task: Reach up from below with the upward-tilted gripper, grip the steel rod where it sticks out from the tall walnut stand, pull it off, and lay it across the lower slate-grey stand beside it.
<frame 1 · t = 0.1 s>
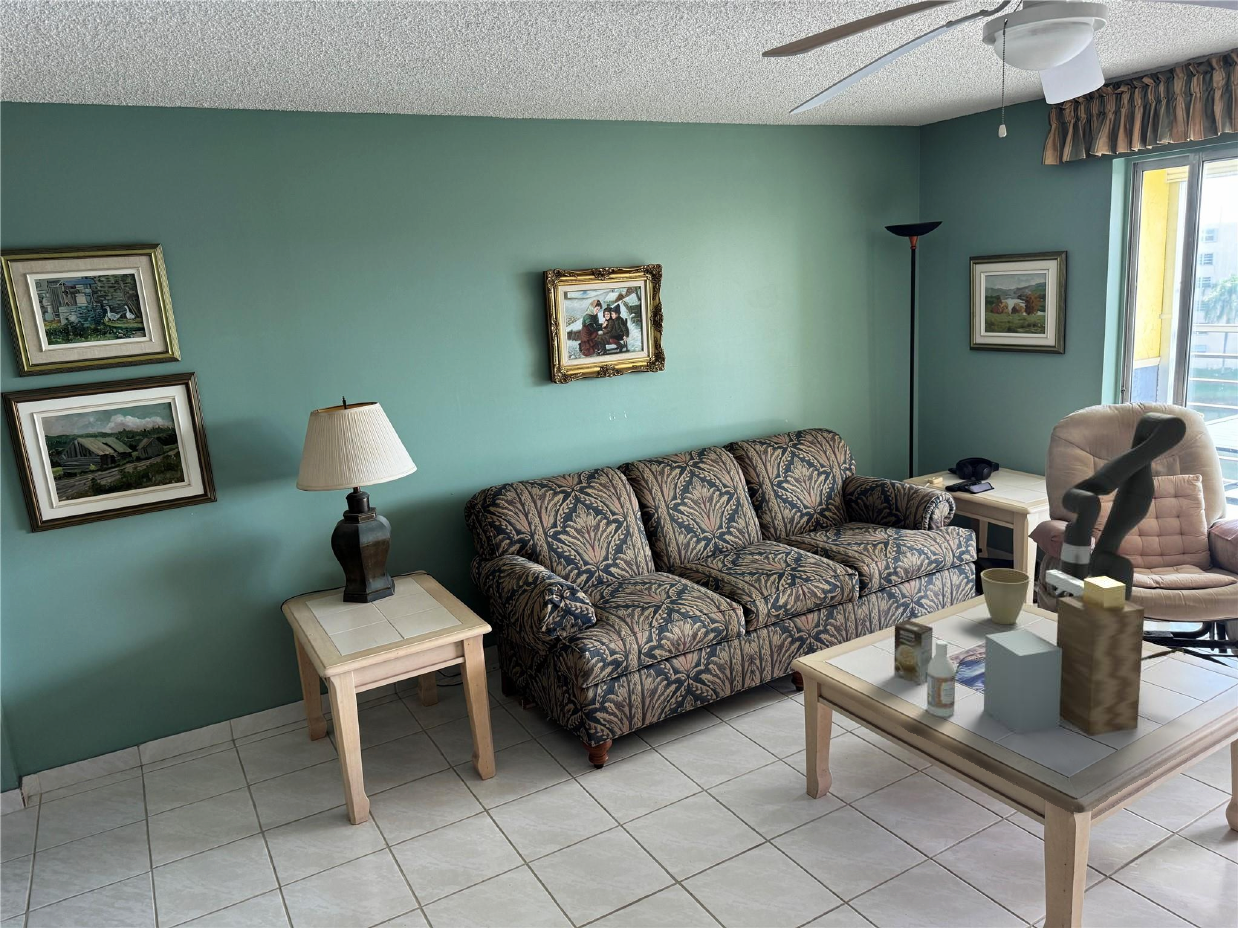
hand: (1070, 612, 254), 17 cm above the table, tool pointing down, fingers open, 8 cm apart
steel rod: (1080, 594, 228), point 32 cm above the table, touching tall stand
coffee pot: (1135, 695, 239), on the table
coffee box: (912, 677, 258), on the table
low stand: (1020, 718, 231), on the table
plant pot: (1003, 621, 295), on the table
bath foam: (940, 712, 237), on the table
tall stand: (1094, 719, 228), on the table
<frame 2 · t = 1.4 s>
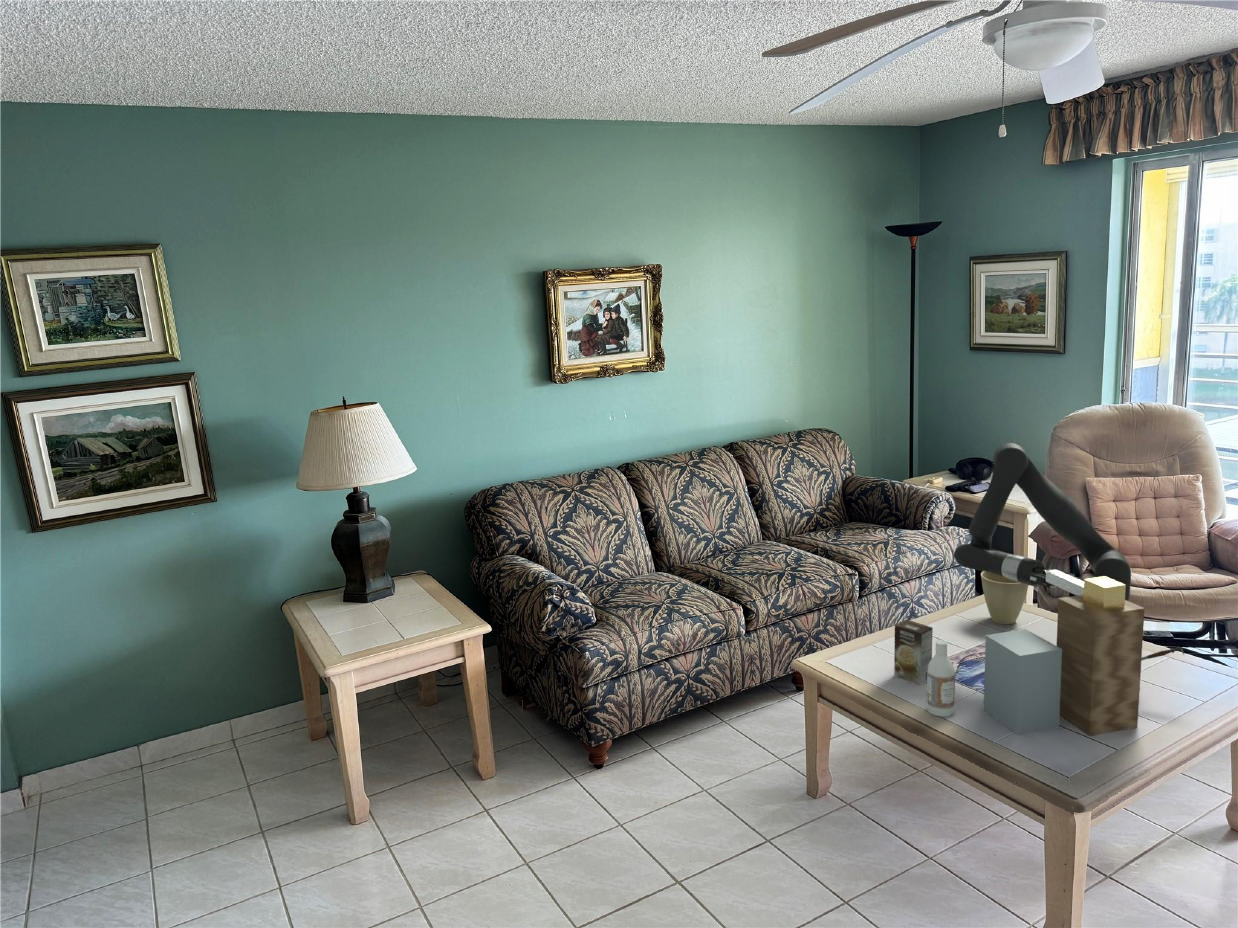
hand: (1078, 585, 242), 29 cm above the table, tool horizontal, fingers open, 8 cm apart
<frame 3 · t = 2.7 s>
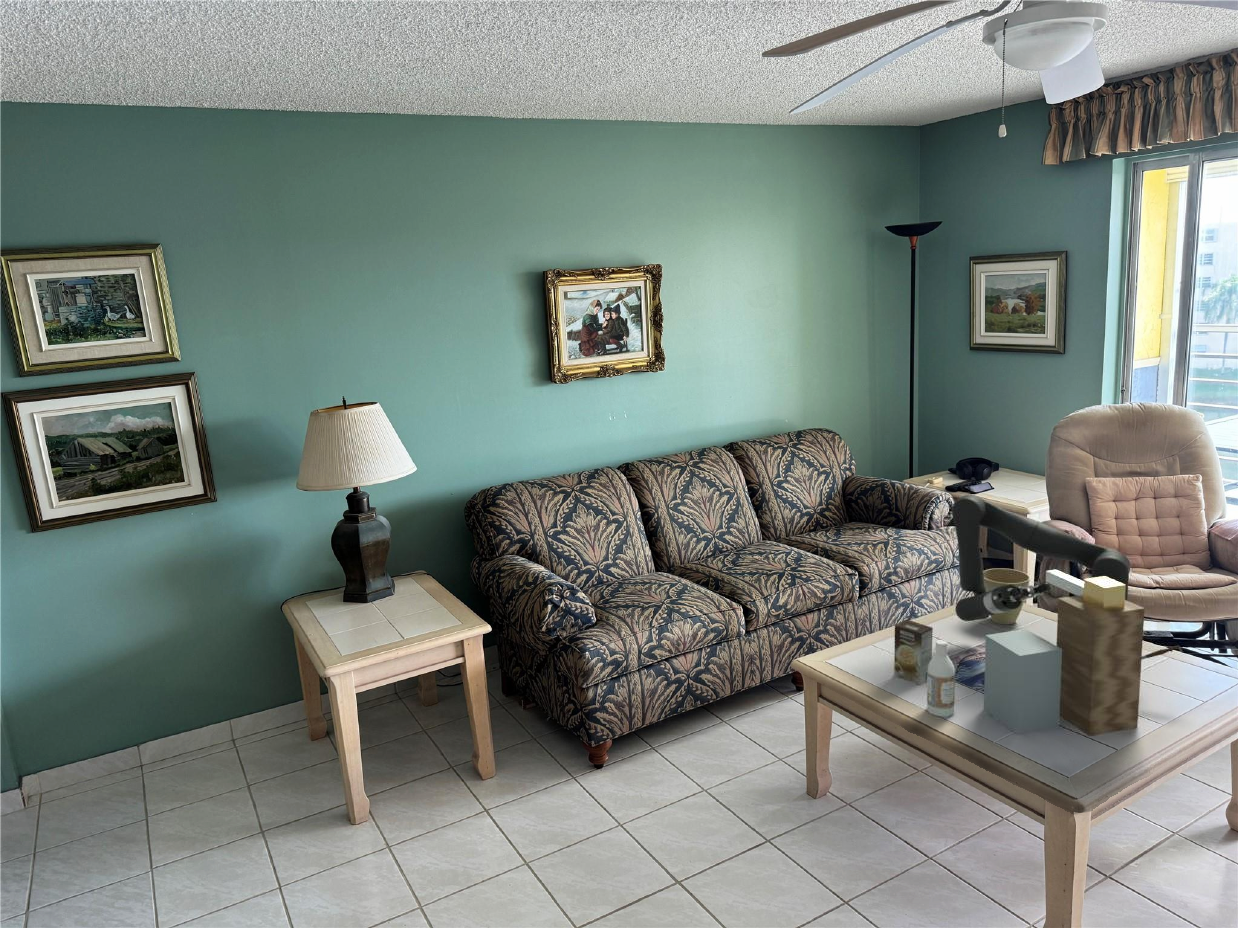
hand: (1034, 588, 246), 28 cm above the table, tool pointing upward, fingers open, 8 cm apart
nothing on the table moved.
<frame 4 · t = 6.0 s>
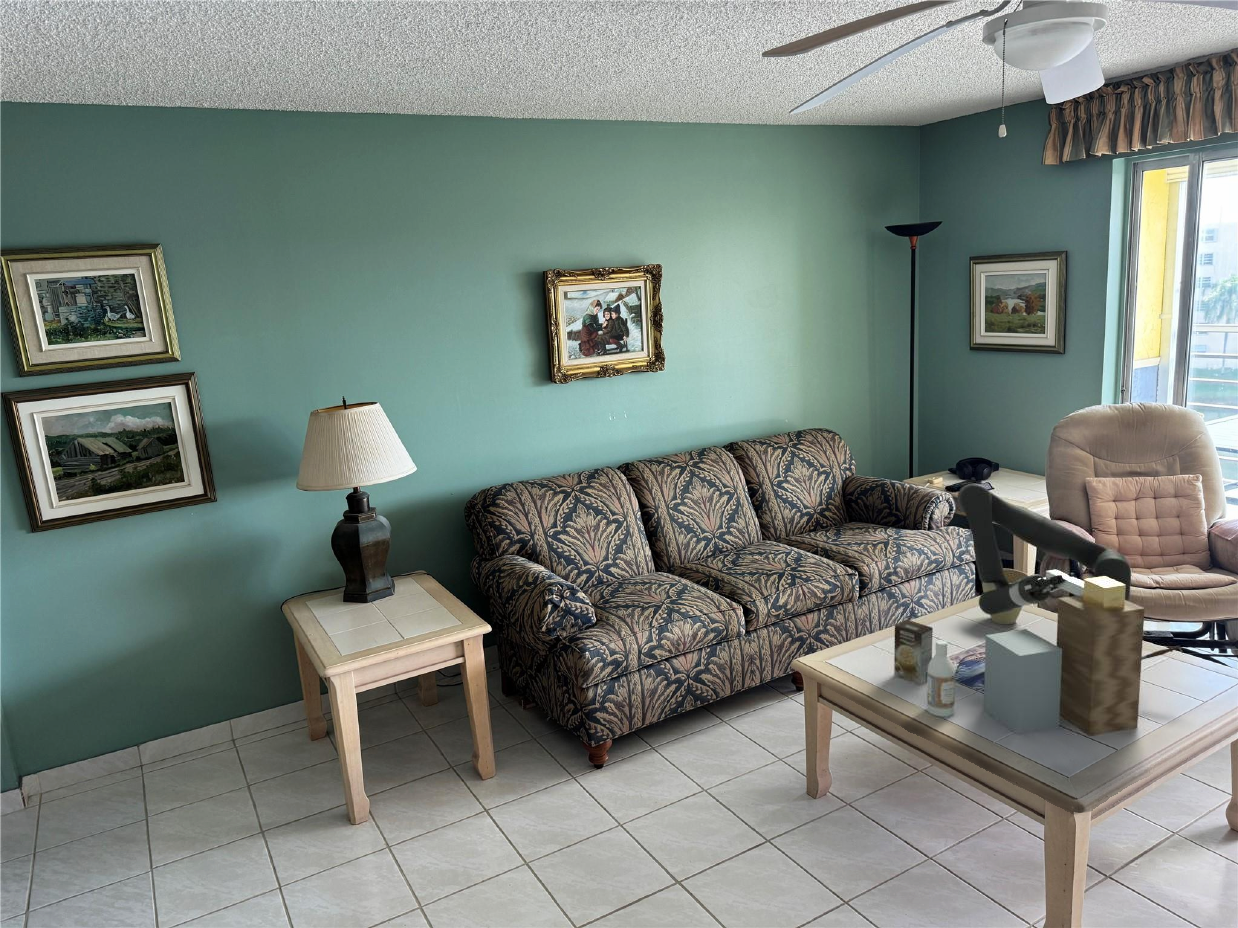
hand: (1067, 577, 232), 35 cm above the table, tool pointing upward, fingers closed on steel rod, 3 cm apart
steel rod: (1080, 594, 228), point 32 cm above the table, touching gripper, tall stand
everything else where it was.
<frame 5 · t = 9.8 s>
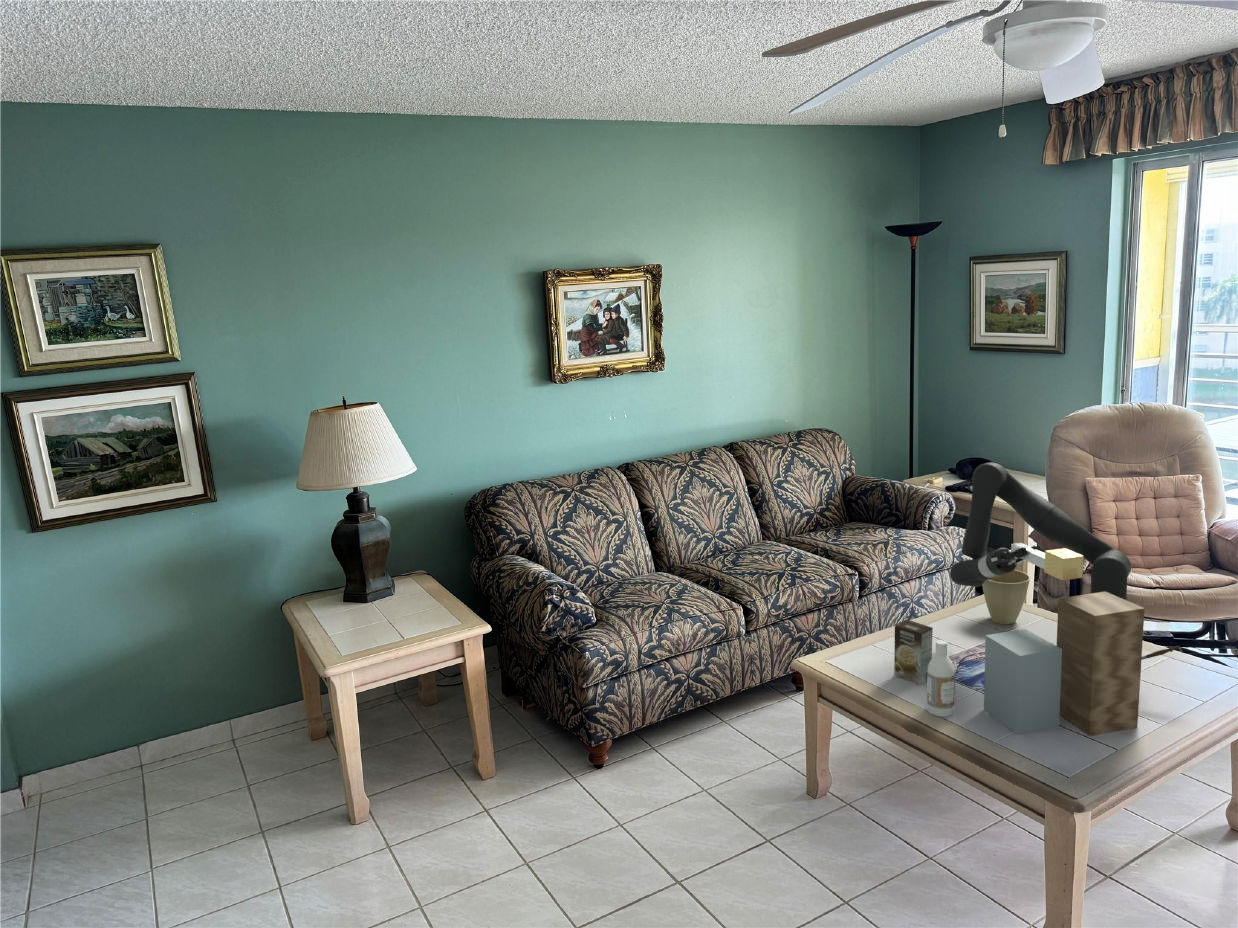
hand: (1031, 549, 245), 39 cm above the table, tool pointing upward, fingers closed on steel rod, 3 cm apart
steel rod: (1042, 565, 241), point 36 cm above the table, touching gripper
everything else where it was.
when the fingers open (26 cm above the table, at t = 13.9 s): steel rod drops 2 cm, resting on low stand.
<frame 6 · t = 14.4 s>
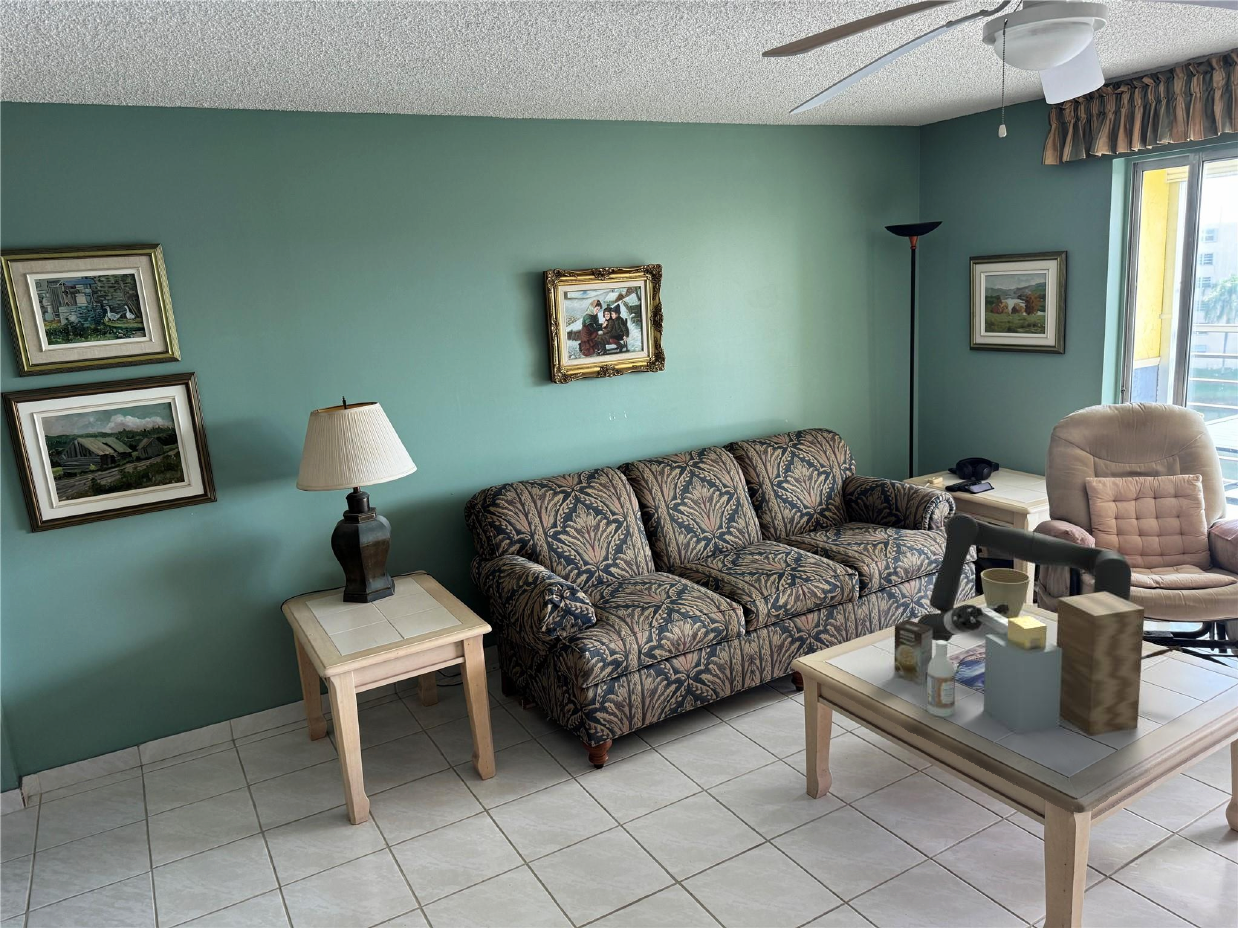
hand: (994, 609, 237), 26 cm above the table, tool pointing upward, fingers open, 7 cm apart
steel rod: (1006, 632, 233), point 21 cm above the table, touching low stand
everything else where it was.
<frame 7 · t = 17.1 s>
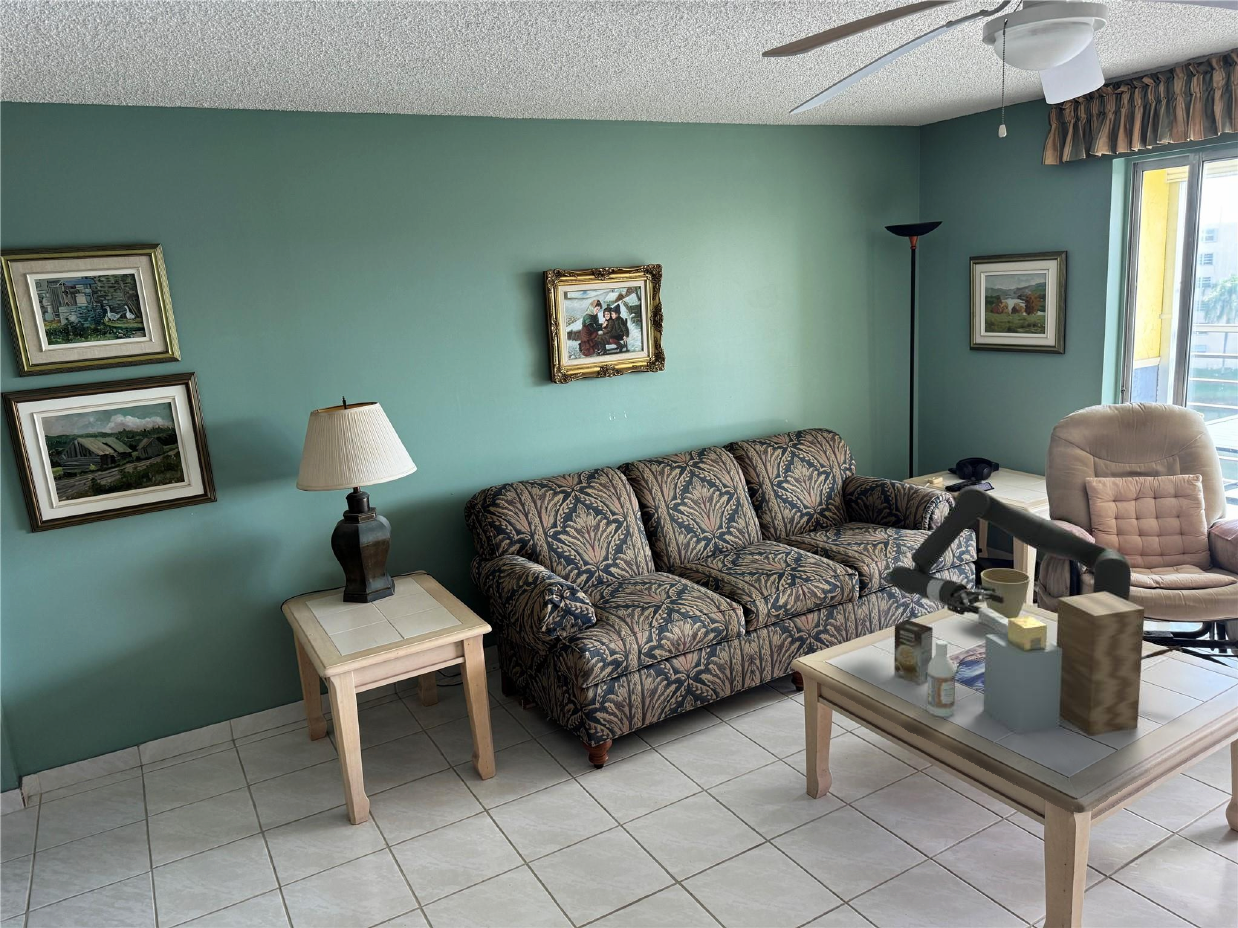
hand: (992, 605, 245), 24 cm above the table, tool horizontal, fingers open, 8 cm apart
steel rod: (1008, 633, 232), point 22 cm above the table, touching gripper
everything else where it was.
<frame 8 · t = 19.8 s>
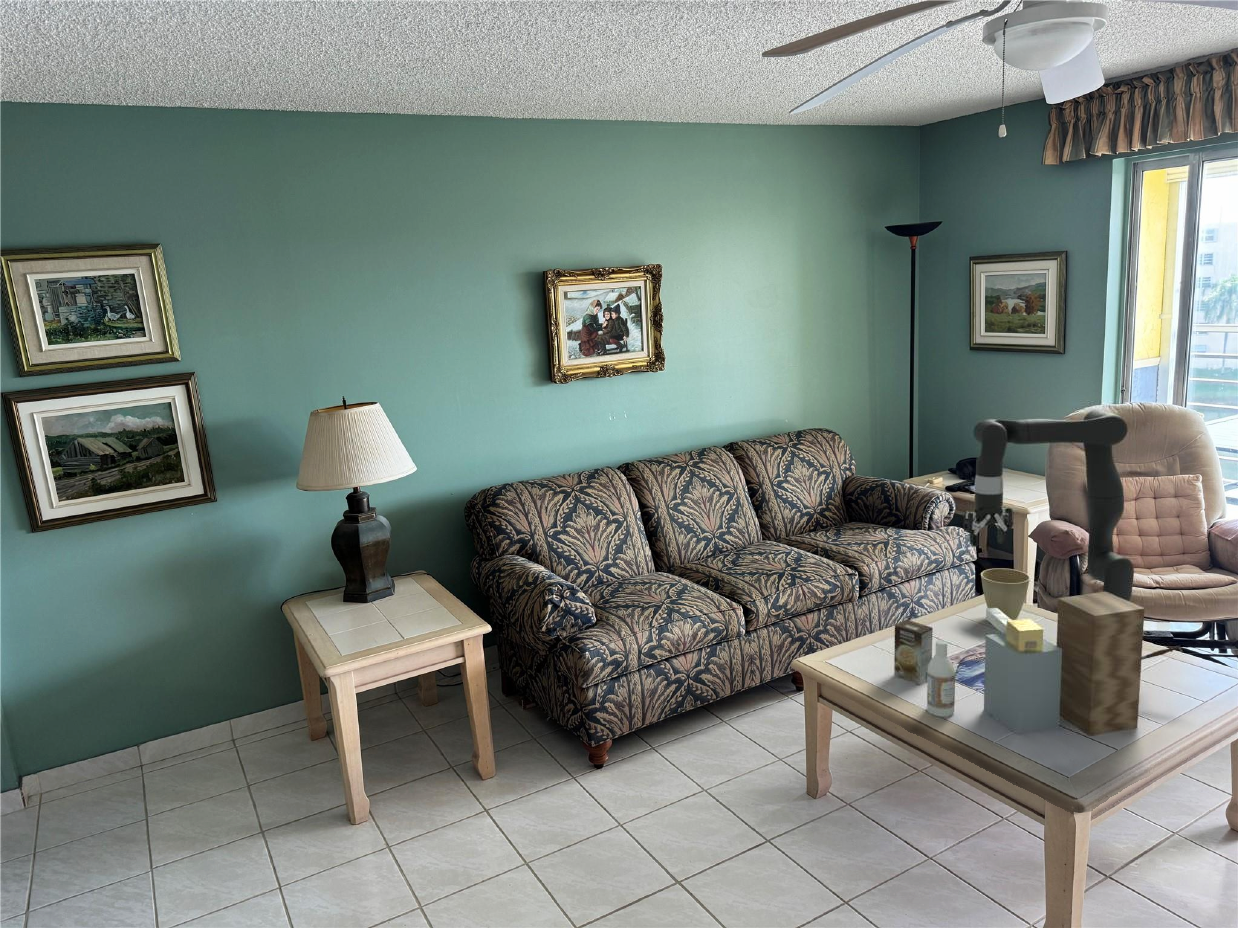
hand: (987, 544, 254), 38 cm above the table, tool pointing down, fingers open, 8 cm apart
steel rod: (1010, 634, 231), point 21 cm above the table, touching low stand
everything else where it was.
at the end: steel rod inside the target area on the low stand (0.8 cm from its centre), point 21.5 cm above the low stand's base; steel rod tilted 0°; the gripper is holding nothing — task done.
